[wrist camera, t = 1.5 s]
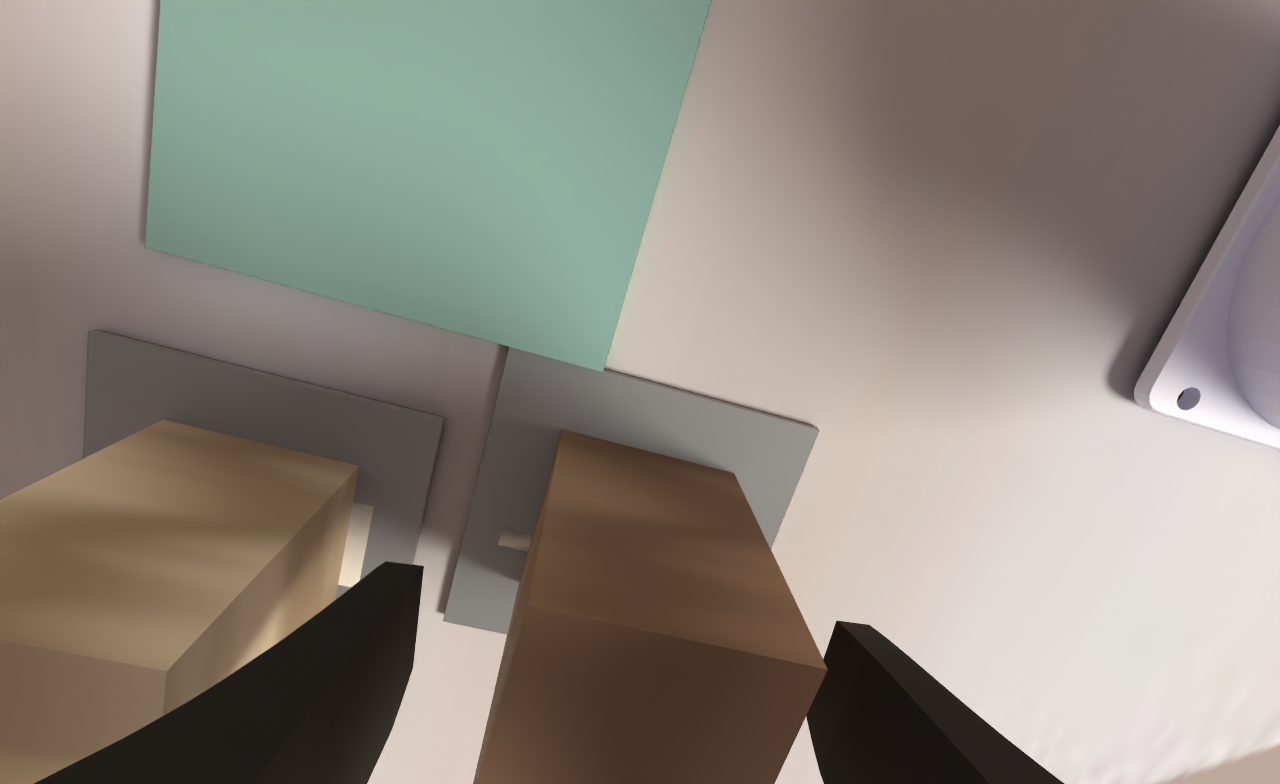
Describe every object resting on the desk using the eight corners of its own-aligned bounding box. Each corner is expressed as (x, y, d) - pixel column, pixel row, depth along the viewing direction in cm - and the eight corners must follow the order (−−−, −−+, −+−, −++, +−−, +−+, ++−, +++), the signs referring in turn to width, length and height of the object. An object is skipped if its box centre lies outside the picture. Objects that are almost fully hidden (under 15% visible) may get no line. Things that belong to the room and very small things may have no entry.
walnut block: (734, 473, 14) (828, 670, 8) (680, 618, 15) (727, 881, 9) (562, 429, 13) (527, 605, 7) (518, 582, 14) (459, 839, 8)
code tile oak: (444, 417, 13) (442, 421, 13) (388, 673, 15) (386, 678, 15) (96, 329, 12) (88, 331, 12) (84, 614, 14) (77, 620, 14)
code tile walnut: (816, 426, 14) (819, 430, 13) (716, 672, 15) (718, 678, 15) (511, 343, 13) (509, 345, 12) (445, 615, 15) (442, 621, 14)
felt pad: (742, -113, 10) (746, -122, 10) (603, 368, 13) (603, 371, 13) (195, -331, 9) (182, -348, 9) (156, 246, 12) (144, 247, 11)
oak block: (359, 466, 13) (167, 671, 7) (332, 616, 14) (146, 896, 8) (163, 419, 12) (-211, 602, 7) (151, 579, 14) (-179, 852, 8)
